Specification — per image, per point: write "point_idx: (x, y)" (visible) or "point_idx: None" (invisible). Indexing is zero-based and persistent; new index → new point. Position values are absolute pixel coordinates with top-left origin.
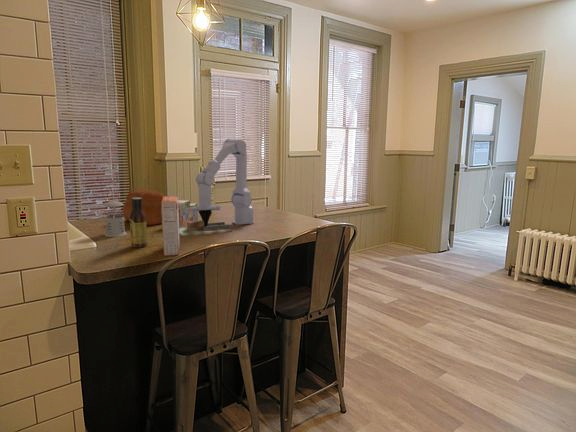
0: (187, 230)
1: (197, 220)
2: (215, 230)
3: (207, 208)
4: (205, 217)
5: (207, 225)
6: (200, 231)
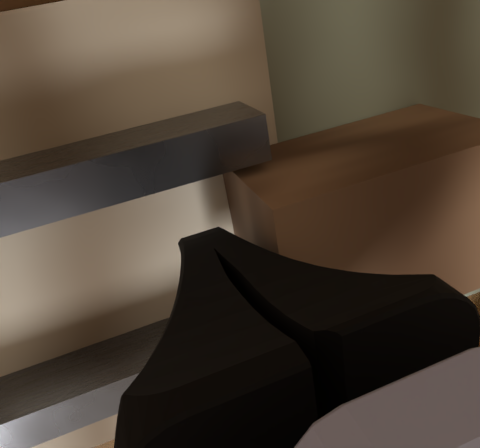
0: None
1: None
2: (20, 108)
3: (476, 421)
4: (277, 286)
5: None
6: (285, 77)
